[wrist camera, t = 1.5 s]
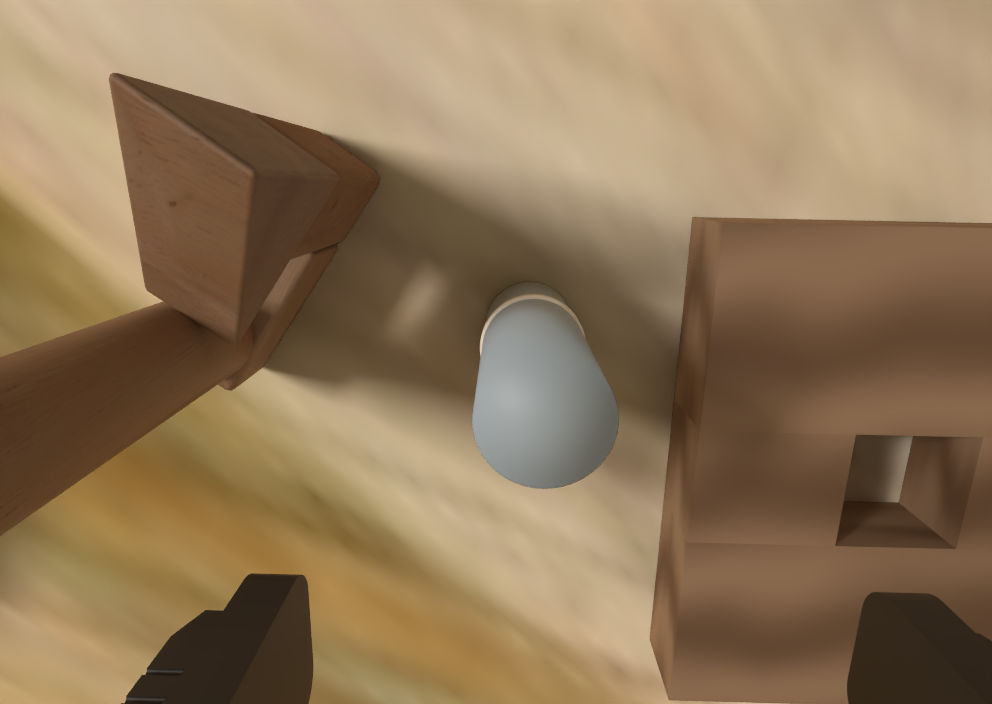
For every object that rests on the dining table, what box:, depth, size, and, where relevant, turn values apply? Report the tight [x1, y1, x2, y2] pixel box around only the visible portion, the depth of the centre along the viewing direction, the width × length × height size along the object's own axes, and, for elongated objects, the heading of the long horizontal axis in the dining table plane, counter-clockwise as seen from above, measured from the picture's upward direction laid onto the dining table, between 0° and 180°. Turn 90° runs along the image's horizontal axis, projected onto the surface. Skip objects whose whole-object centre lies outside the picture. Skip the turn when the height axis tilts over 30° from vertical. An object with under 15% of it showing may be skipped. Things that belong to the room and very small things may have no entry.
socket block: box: [650, 217, 992, 704], centre depth 28 cm, size 22×18×4 cm
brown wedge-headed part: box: [0, 73, 380, 536], centre depth 19 cm, size 4×11×18 cm, turn 145°
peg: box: [472, 282, 619, 489], centre depth 23 cm, size 4×4×12 cm
